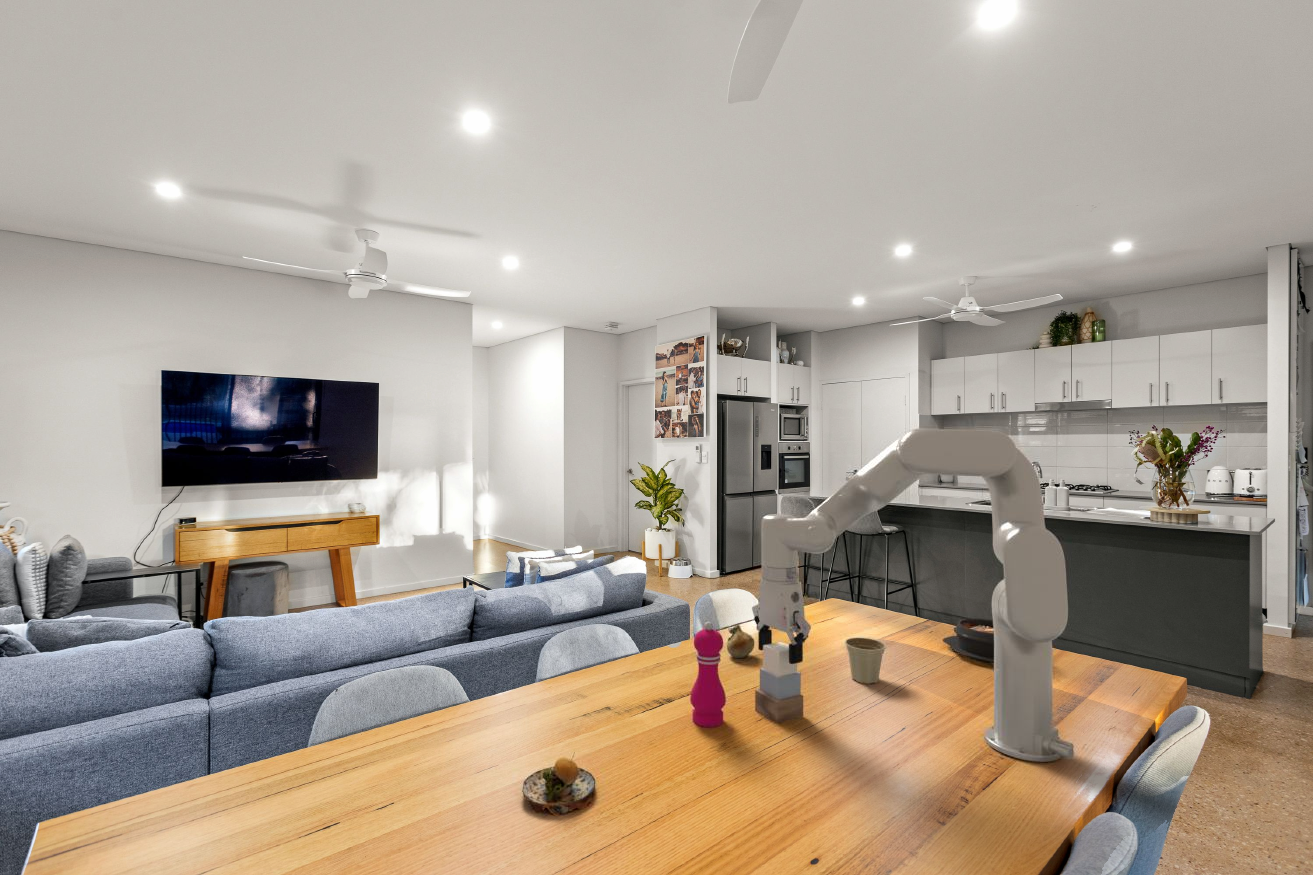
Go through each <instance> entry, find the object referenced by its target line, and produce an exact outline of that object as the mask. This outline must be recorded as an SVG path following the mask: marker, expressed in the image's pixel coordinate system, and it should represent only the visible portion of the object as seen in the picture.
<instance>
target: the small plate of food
mask: <svg viewBox="0 0 1313 875" xmlns="http://www.w3.org/2000/svg"><path fill="white" fill-rule="evenodd" d="M575 754H576V753H575V752H574V753H573V755H572V757H571V758H570V757H565V756H562V757H559V758H558V759H556V761H555V762H554V765H553V766H550V767H547V768H542V769H539V770H537V771H535V772H533V773H532V774H531V775H529V776H528V777H527V778H525V780H524V781H523V784H522V791H521V793H522V797H523V798H524V799H525V800H527V801H528V802H529V804H530V809H531V810H530V811H531V812H532V811H534V813H536V814H537V813H538V814H541V815H543V814H544V810H545V808H547V809H548V811H549V812H550V814H553V815H554V816H560V815H561V814H562V815H566V813H567V812H569V811H570V812H572V811H573V810H574V809H577V810H579V811H580V810H582V809H584V808H586V807H587V805H588V803H590V804H591V803H592V802H593V801H594V799H595V798H596V794H597V790H596V783H597V782H596V779H595V777H594V776H593V774H592V773H591V772H590V771H588V770H586V769H584V768H581V767H579V766H578V765H577V763H576V762H575V761H574V760H573V758H574V756H575Z"/></svg>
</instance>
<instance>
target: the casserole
mask: <svg viewBox="0 0 1313 875" xmlns="http://www.w3.org/2000/svg"><path fill="white" fill-rule="evenodd" d="M953 632H954V633H955V634H956V635H949V636H947V637H944V638H942V642H943V643H944V644H946V645H948V646H949V647H950V648H951V649H952V650H953V651H955V652H956V653H958V654H960V655H963V656H966V657H967V658H969V659H972V660H973V661H974V660H975V661H978V662H982V663H985V664H986V663H987V664H993V665H994V627H993V619H986V618H964V619H960V620H958V621H957V624H956V626H955V627H954V628H953Z"/></svg>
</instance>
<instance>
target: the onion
mask: <svg viewBox="0 0 1313 875" xmlns="http://www.w3.org/2000/svg"><path fill="white" fill-rule="evenodd" d="M727 630H728V633H729V634H731V636H730V637H728V638H727V643H726V649H727V653H728V654H730V655H731V657H733V658H736V659H744V658H747V657H748V656H749V655H750V654H751V653H752V652H753V650H754V648H755V639H754V637H753V636H752V635H751V634H748V632H745V631H744V630H742V628H741V625H739V624H737V625H734V626H733V627H731V626H729V627H728V628H727Z"/></svg>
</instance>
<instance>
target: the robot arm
mask: <svg viewBox="0 0 1313 875" xmlns="http://www.w3.org/2000/svg"><path fill="white" fill-rule="evenodd" d="M925 475H936V476H937V475H938V476H957V477H958V476H962V477H963V476H964V477H982V479H983V480H984V481H985V483H986V484H987V489H988V490H989V495H990V504H991V505H990V506H991V517H992V518H991V519H992V522H991V523H992V549H993V552H994V555H995V557H996V558H997V560H998V561H999V562H1000V563H1001V564H1002V566H1003V567H1002V568H1003V579H1002V580H1000V581H999V582H998V583H997V585H996V586H995V588H994V590H993V592H992V596H991V615H992V620H993V627H994V664H993V726H990V727H987V728H986V729H985V730H984V741H985V742H986V744H988V745H989V746H990V747H991V748H992V749H994V750H996V751H998V752H1000V753H1002V754H1003V755H1005V756H1006V755H1007V756H1009V757H1011V758H1015V759H1020V760H1022V761H1029V762H1037V763H1038V762H1039V763H1045V762H1046V763H1047V762H1055V761H1058V760H1059V759H1060V758H1062V757H1063V758H1066V759H1069V760H1072V759H1073V758H1074V754H1075V750H1074V748H1075V747H1074V744H1073V743H1072V742H1069V741H1067V740H1063V739H1061V737H1060V736H1059V728H1056V727H1054V726H1053V666H1054V665H1053V663H1054V662H1053V660H1054V659H1053V658H1054V656H1053V652H1054V651H1053V641H1054V640H1056V639H1057V638H1058V637H1060V636H1061V635H1062V633H1063V632H1065V629H1066V626H1067V624H1068V618H1069V606H1068V605H1069V603H1068V587H1067V586H1068V585H1067V572H1066V571H1067V569H1066V567H1067V566H1066V559H1065V555H1064V554H1065V553H1064V550H1063V546H1062V544H1061V543H1060V541H1059V539H1058V538H1057V537H1056V535H1055V534H1053V533H1052V532H1051V531H1050V530H1048V529H1047V528H1046V523H1045V514H1044V512H1045V510H1044V504H1043V496H1042V495H1043V494H1042V489H1041V488H1042V487H1041V483H1040V480H1039V477H1038V474H1037V471H1036V470H1035V468H1034V466H1033V464H1032V463H1031V462H1030V460H1029V459H1028V457H1026V456H1025V454H1024V453H1023V452H1022V451H1020V449H1019V448H1017V446H1016V444H1015V442H1014V440H1013V439H1012V438H1011V437H1010V436H1009V435H1007V434H1006V433H1004V432H1002V431H1000V430H996V429H950V428H949V429H945V428H943V429H942V428H927V427H926V428H925V427H923V428H922V427H918V428H914V429H911V430H908V431H907V432H904V434H902V435H900V436H899V437H898V438H897V439H896V440H895V441H893V443H891V444H890V445H888V447H886V448H885V449H884V450H882V452H880V453H879V454H878V455H877V456H875V457H874V458H873V459H872V460H871V461H869V462H868V463H867V464H865V465H864V466H863V467H862V468H860V470H858V471H857V472H856V473H855V474H854V475H852V476H851V477H850V478H849V479H848V481H847V482H845V484H844V485H842V486H841V487H840V488H839V489H838V490H837V491H835V492H834V493H833V494H832V495H831V496H830V497H828V498H827V499H826V500H824V501H823V502H822V503H821V504H819V505H818V506H817V507H815V509H813V510H812V511H811V512H810V513H809V514H808V515H806V516H805V517H795V516H794V515H791V514H786V513H783V514H782V513H773V514H767V515H765V516H763V517H762V520H761V526H760V528H761V533H760V535H761V538H760V539H761V540H760V541H761V578H760V584H759V589H758V590H759V591H758V601H757V602H758V603H757V604H756V605H753V606H752V607H751V610H752V615H753V616H754V617H753V619H754V620H753V621H754V622H755V624H756V630H757V631H758V634H757V635H758V636H757V637H758V639H757V640H758V648H757V649H758V650H759V651H762V652H763V645H768V644H773V643H772V642H773V638H772V637H773V635H772V631H773V630H772V629H774V630H777V631H780V632H783V633H785V634H786V635H787V637H788V639H789V641H790V643H788V645H789V663H790V664H796V663H797V664H800V663H803V661H804V654H803V653H804V652H803V650H804V646H803V644H804V643H806V640H807V639H808V637H809V634H810V632H811V630H812V626H811V625H810V623H809V622H808V621H807V620H806V619H805V618H806V617H805V616H806V615H805V614H806V613H805V603H804V601H805V600H804V596H803V589H802V585H801V582H799V578H800V574H799V552H803V553H809V554H817V555H818V554H823V553H826V552H828V551H829V550H831V549H832V547H833V545H834V543H835V541H836V539H837V538H838V537H840V535H842V533H844V532H846V531H847V529H849V528H850V527H851V526H853V525H854V524H855V523H857V522H858V521H859V520H861V519H863V517H865V516H867V515H869V514H872V513H873V512H877V511H879V510H881V509H882V508H885V507H886V506H887V505H889V503H891V502H892V501H893V500H894V499H896V498H897V497H898V496H900V494H903V492H904V491H906V490H907V489H908V488H910V487H911V486H912V485H913V484H914V483H917V481H919V480H920V479H921V478H922V477H924V476H925ZM771 628H772V629H771ZM794 633H795V634H796V636H795V634H794Z"/></svg>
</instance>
